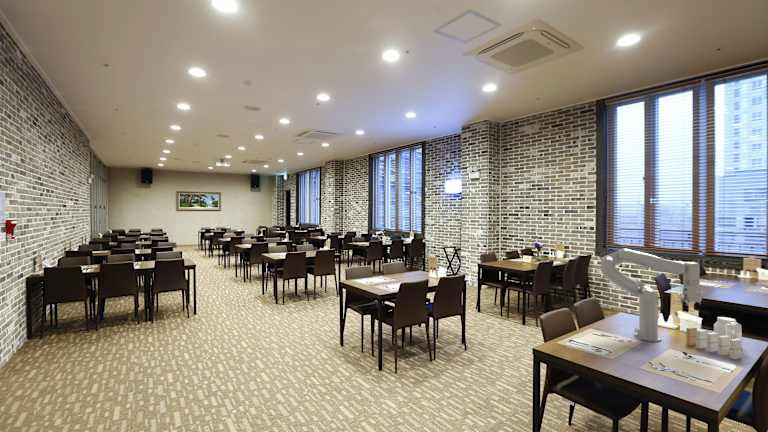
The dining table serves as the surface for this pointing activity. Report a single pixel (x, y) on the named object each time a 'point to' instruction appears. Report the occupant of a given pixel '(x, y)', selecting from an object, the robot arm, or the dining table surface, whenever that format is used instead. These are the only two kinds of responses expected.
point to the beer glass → (733, 331)
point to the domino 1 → (691, 335)
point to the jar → (722, 325)
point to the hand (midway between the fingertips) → (691, 310)
